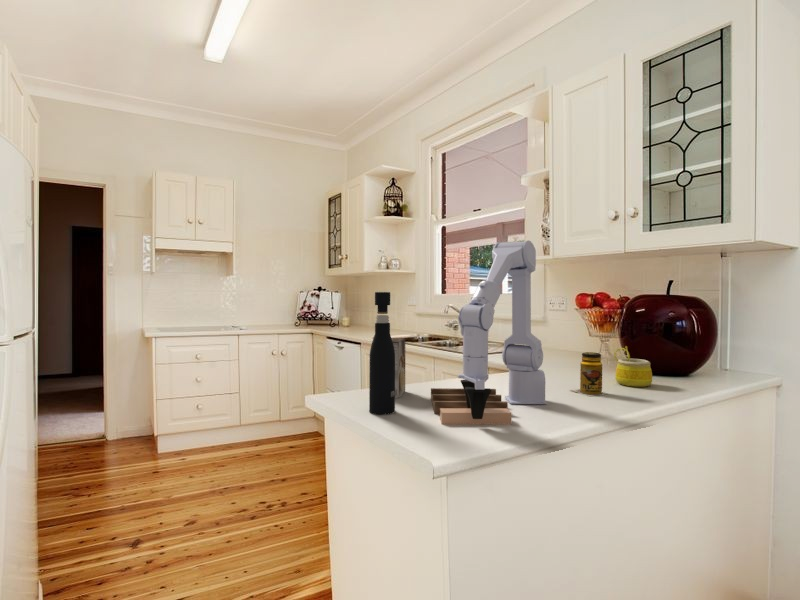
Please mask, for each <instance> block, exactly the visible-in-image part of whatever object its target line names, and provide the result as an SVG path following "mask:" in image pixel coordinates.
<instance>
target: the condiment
mask: <svg viewBox="0 0 800 600" xmlns="http://www.w3.org/2000/svg"><path fill="white" fill-rule="evenodd" d="M579 373H580V374H579V375H580V377H579V378H580V379H579V380H580V381H579V382H580V383H579V385H580V387H579V388H580V389H579V388H578V389H570V390H569V391H572V392H576V393H578V394H581V395H584V396H587V397H588V396H589V397H595V396H605V395H609V393H608V392H607V393H606V392H604V391H603V362H602V354H601V353H599V352H594V351H593V352H592V351H591V352H590V351H589V352H588V351H587V352H582V353H581V362H580V372H579Z"/></svg>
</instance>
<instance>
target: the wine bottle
mask: <svg viewBox="0 0 800 600" xmlns="http://www.w3.org/2000/svg"><path fill="white" fill-rule="evenodd" d="M374 306H377V312H376V314H377V315H376V317H375V319H376V320H375V323H374V336H373V339H372V342H371V346H370V350H369V376H368V377H369V382H368V383H369V386H368V387H369V392H368V393H369V396H368V397H369V398H368V399H369V400H368V401H369V404H368V405H369V409H368V410H369V411H368V412H369V413H370V414H372V415H377V416H378V415H379V416H385V415H391V414H394V413H395V412H396V398H395V350H394V345H393V342H392V339H391V338H392V336H391V323H390V322H389V321H390V317H389V315H387V314H388V311H389V310H388V309H389V308H388V306H391V292H390V291H375V292H374Z"/></svg>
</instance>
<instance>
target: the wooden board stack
mask: <svg viewBox="0 0 800 600" xmlns="http://www.w3.org/2000/svg"><path fill="white" fill-rule="evenodd" d="M490 389H491V393H490V395H489V397H488V399H487V401H486V404H485V408H507V409H508V407H509V405H508V402H509V401H508V400H506V401H505V400H504V401H502V394H497V389H496V388H490ZM430 401H431V405H432V408H433V409H432V410H433V413H434V415H440V408H467V402H466V396H465V392H464V388H452V387H451V388H450V387H449V388H442V387H441V388H438V387H437V388H435V387H433V388H430ZM508 410H509V409H508Z"/></svg>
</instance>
